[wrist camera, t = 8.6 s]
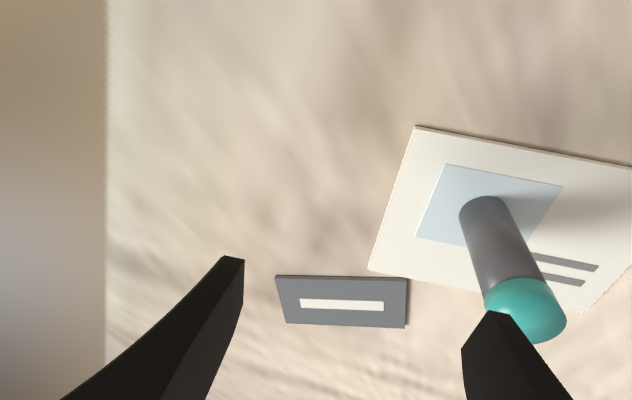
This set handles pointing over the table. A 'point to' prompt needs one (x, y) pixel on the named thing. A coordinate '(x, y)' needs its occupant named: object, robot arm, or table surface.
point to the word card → (343, 300)
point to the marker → (509, 270)
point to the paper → (524, 205)
